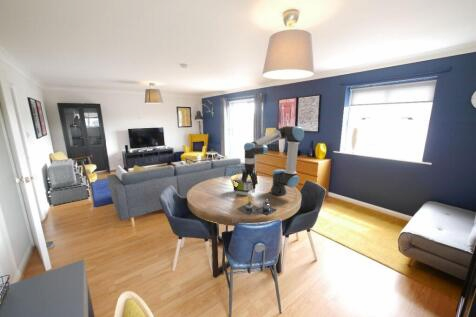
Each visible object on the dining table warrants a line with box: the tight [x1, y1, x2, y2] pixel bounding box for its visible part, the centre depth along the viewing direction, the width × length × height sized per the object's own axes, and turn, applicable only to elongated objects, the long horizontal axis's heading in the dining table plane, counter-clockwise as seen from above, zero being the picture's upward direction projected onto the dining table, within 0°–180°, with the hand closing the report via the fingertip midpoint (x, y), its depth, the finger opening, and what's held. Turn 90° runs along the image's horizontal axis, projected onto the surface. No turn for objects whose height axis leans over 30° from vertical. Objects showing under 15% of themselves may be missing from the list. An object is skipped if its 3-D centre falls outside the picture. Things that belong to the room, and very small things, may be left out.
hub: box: [237, 196, 260, 216], centre depth 160 cm, size 14×14×10 cm
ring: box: [244, 180, 253, 191], centre depth 157 cm, size 8×8×5 cm
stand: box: [256, 198, 278, 216], centre depth 158 cm, size 12×12×10 cm
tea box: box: [232, 176, 252, 197], centre depth 194 cm, size 15×10×15 cm, turn 66°
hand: (249, 191), depth 158 cm, fingers closed on ring, 8 cm apart
